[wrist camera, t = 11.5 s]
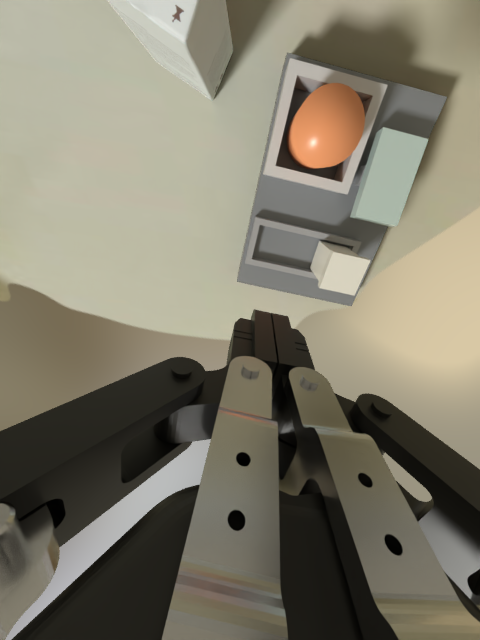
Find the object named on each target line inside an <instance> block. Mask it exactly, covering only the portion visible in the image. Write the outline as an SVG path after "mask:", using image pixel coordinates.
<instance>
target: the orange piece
mask: <svg viewBox="0 0 480 640" xmlns="http://www.w3.org/2000/svg"><path fill="white" fill-rule="evenodd" d="M364 125H365V112H364V107H363V103H362V101H361V99H360V97H359V96H358V94H357V93H356V92H355V91H354V90H353V89H352V88H351V87H349V86H347V85H344V84H341V83H330V84H326V85H323V86H321V87H319V88H317V89H316V90H314V91H313V92H312V93H311V94H310V95H309V96H308V97H307V98H306V100H305V101H304V102H303V104H302V105H301V107H300V108H299V110H298V111H297V112H296V114H295V115H294V117H293V118H292V120H291V122H290V125H289V127H288V131H287V139H286V140H287V149H288V152H289V154H290V156H291V158H292V160H293V161H294V162H295V163H296V164H297V165H299V166H300V167H302V168H305V169H318V168H325V167H331V166H335V165H337V164H339V163H341V162H342V161H344V160H345V159H347V158H348V157H349V156H350V155H351V154H352V152H353V151H354V150H355V149H356V147H357V145H358V144H359V142H360V139H361V137H362V134H363V131H364Z"/></svg>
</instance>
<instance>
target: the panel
mask: <svg viewBox="0 0 480 640" xmlns="http://www.w3.org/2000/svg"><path fill="white" fill-rule="evenodd" d="M330 83H341V84H344V85H347V86H349V87H351V88H352V89H353V90H354V91H355V92H356V93H357V94H358V96H359V97H360V99H361V101H362V103H363V107H364V112H365V125H364V131H363V134H362V137H361V139H360V142H359V144H358V145H357V147H356V149H355V150H354V151H353V152H352V154H351V155H350V156H349V157H348V158H347V159H345V160H344V161H342V162H341V163H339V164H337V165H335V166H331V167H325V168H318V169H305V168H302V167H300V166H299V165H297V164H296V163H295V162H294V161H293V160H292V158H291V156H290V154H289V152H288V149H287V140H286V139H287V131H288V127H289V125H290V122H291V120H292V118H293V117H294V115H295V114H296V112H297V111H298V110H299V108H300V107H301V105H302V104H303V102H304V101H305V100H306V98H307V97H308V96H309V95H310V94H311V93H312V92H313V91H314V90H316V89H317V88H319V87H321V86H323V85H326V84H330ZM446 99H447V97H446V96H442V95H438V94H435V93H431V92H428V91H424V90H420V89H417V88H413V87H410V86H406V85H402V84H399V83H395V82H392V81H388V80H384V79H381V78H377V77H374V76H370V75H366V74H363V73H359V72H356V71H352V70H348V69H345V68H341V67H338V66H334V65H330V64H327V63H323V62H320V61H316V60H312V59H309V58H305V57H302V56H298V55H294V54H291V53H287V55H286V58H285V62H284V66H283V70H282V75H281V79H280V84H279V89H278V93H277V98H276V102H275V107H274V112H273V116H272V121H271V125H270V130H269V134H268V139H267V144H266V148H265V153H264V157H263V162H262V167H261V171H260V176H259V180H258V185H257V189H256V194H255V199H254V203H253V208H252V212H251V217H250V222H249V226H248V231H247V235H246V240H245V245H244V249H243V254H242V258H241V263H240V267H239V272H238V278H237V282H241V283H245V284H250V285H255V286H259V287H264V288H269V289H273V290H278V291H283V292H287V293H292V294H297V295H301V296H306V297H311V298H315V299H320V300H325V301H329V302H334V303H339V304H343V305H348V306H352V304H353V302H354V300H355V297H356V295H357V293H358V291H359V289H360V287H361V284H362V282H363V280H364V278H365V276H366V273H367V271H368V269H369V267H370V265H371V263H372V260H373V258H374V256H375V254H376V252H377V249H378V247H379V245H380V243H381V241H382V238H383V236H384V234H385V232H386V230H387V228H388V226H385V225H381V224H377V223H372V222H368V221H364V220H360V219H356V218H351V217H350V215H351V212H352V209H353V206H354V203H355V199H356V196H357V193H358V190H359V186H360V183H361V180H362V177H363V174H364V170H365V167H366V164H367V161H368V158H369V154H370V151H371V148H372V145H373V141H374V138H375V135H376V133H377V132H378V131H379V130H380V129H382V128H383V127H385V128H389V129H392V130H396V131H400V132H404V133H408V134H411V135H415V136H419V137H423V138H426V139H428V138H429V136H430V134H431V132H432V129H433V127H434V125H435V123H436V121H437V118H438V116H439V114H440V112H441V110H442V108H443V105H444V103H445V101H446ZM319 241H323V242H327V243H332V244H336V245H340V246H345V247H347V248H349V249H350V250H351V251H353V252H354V253H356V254H357V255H358V256H361V257H365V258H368V259H369V260H371V261H370V263H369V265H368V267H367V270H366V272H365V274H364V276H363V278H362V280H361V283H360V285H359V287H358V289H357V291H356V294H355V296H354V295H349V294H345V293H340V292H335V291H331V290H326V289H322V288H319V286H318V282H319V281H318V279H317V278H316V276H315V275H314V273H313V272H312V270H311V269H310V266H311V263H312V260H313V257H314V255H315V252H316V249H317V246H318V243H319Z"/></svg>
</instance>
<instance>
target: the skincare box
mask: <svg viewBox="0 0 480 640" xmlns="http://www.w3.org/2000/svg"><path fill="white" fill-rule="evenodd" d="M107 1H108V2H109V3H110V5H111V6H112V7H113V8H114V10H115V11H116V12H117V13H118V15H119V16H120V17H121V18H122V20H123V21H124V22H125V23H126V25H127V26H128V27H129V28H130V30H131V31H132V32H133V33H134V35H135V36H136V37H137V38H138V40H139V41H140V42H141V43H142V45H143V46H144V47H145V48H146V50H147V51H148V52H149V53H150V55H151V56H152V57H153V58H154V60H155V61H156V62H157V63H159V64H160V65H161V66H163V67H164V68H166V69H167V70H169V71H170V72H171V73H173V74H174V75H176V76H177V77H179V78H180V79H181V80H183V81H184V82H186V83H187V84H189V85H190V86H191V87H193V88H194V89H196V90H197V91H199V92H200V93H202V94H203V95H204V96H206V97H207V98H209V99H210V100H212V101H213V99H214V97H215V94H216V92H217V90H218V87H219V85H220V82H221V80H222V77H223V75H224V72H225V70H226V67H227V65H228V62H229V60H230V58H231V55H232V53H233V45H232V38H231V31H230V25H229V18H228V11H227V5H226V0H107Z"/></svg>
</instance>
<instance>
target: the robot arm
mask: <svg viewBox="0 0 480 640" xmlns="http://www.w3.org/2000/svg"><path fill="white" fill-rule="evenodd" d="M206 439H211V442H210V446H209V450H208V454H207V458H206V463H205V466H204V470H203V474H202V478H201V483H200V485H196V486H192V487H188V488H185V489H183V490H181V491H178V492H176V493H174V494H172V495H170V496H168V497H167V498H165V499H164V500H163V501H161V502H160V503H158V504H157V505H156V506H155V507H153V508H152V509H151V510H150V511H149V512H148V513H147V514H146V515H145V516H143V517H142V518H141V519H140V520H139V521H138V522H137V523H136V524H135V525H134V526H133V527H132V528H131V529H130V530H129V531H128V532H126V533H125V534H124V535H123V536H122V537H121V538H120V539H119V540H118V541H117V542H116V543H115V544H113V545H112V546H111V547H110V548H109V549H108V550H107V551H106V552H105V553H104V554H103V555H102V556H101V557H100V558H98V559H97V560H96V561H95V562H94V563H93V564H92V565H91V566H90V567H89V568H88V569H87V570H86V571H85V572H83V573H82V575H80V576H79V577H78V578H77V579H76V580H75V581H74V582H73V583H72V584H71V585H70V586H68V587H67V588H66V589H65V590H64V591H63V592H62V593H61V594H60V595H59V596H58V597H57V598H56V599H55V600H53V602H51V603H50V604H49V605H48V606H47V607H46V608H45V609H44V610H43V611H42V612H41V613H40V614H38V615H37V617H35V618H34V619H33V620H32V621H31V622H30V623H29V624H28V625H27V626H26V627H25V628H23V630H21V631H20V632H19V633H18V634H17V635H16V636H15V637H14V638H13V639H12V640H480V470H479V469H478V468H477V467H475V466H474V465H473V464H472V463H470V462H469V461H467V460H466V459H465V458H464V457H462V456H461V455H459V454H458V453H457V452H456V451H454V450H453V449H451V448H450V447H449V446H448V445H446V444H445V443H443V442H442V441H441V440H439V439H438V438H437V437H435V436H434V435H433V434H431V433H430V432H429V431H427V430H426V429H424V428H423V427H422V426H421V425H419V424H418V423H417V422H415V421H414V420H413V419H411V418H410V417H408V416H407V415H406V414H405V413H403V412H402V411H401V410H399V409H398V408H397V407H395V406H394V405H393V404H391V403H390V402H388V401H387V400H385V399H383V398H381V397H379V396H376V395H373V394H362V395H360V396H359V397H358V398H357V400H356V402H354V401H351V400H349V399H346V398H344V397H342V396H339V395H337V394H335V393H334V392H333V389H332V387H331V385H330V383H329V382H328V380H327V379H326V378H325V377H324V376H323V375H322V374H320V373H318V372H317V371H315V369H314V365H313V362H312V359H311V356H310V353H309V350H308V347H307V344H306V341H305V337H304V336H303V335H302V334H301V333H300V332H299V331H298V330H297V329H292V328H291V326H290V322H289V318H288V316H283V315H278V314H273V313H268V312H263V311H259V310H254V311H253V314H252V317H251V320H248V319H243V318H240V319H239V320H238V321H237V322H235V325H234V329H233V333H232V338H231V342H230V346H229V351H228V358H227V365H226V367H224V368H222V369H219V370H215V371H205V370H204V368H203V366H202V365H201V364H200V363H198V362H197V361H195V360H193V359H190V358H185V357H175V358H170V359H167V360H165V361H163V362H160V363H158V364H156V365H153V366H151V367H149V368H146V369H144V370H142V371H140V372H137V373H135V374H132V375H130V376H128V377H125V378H123V379H121V380H119V381H116V382H114V383H112V384H109V385H107V386H104V387H102V388H100V389H98V390H95V391H93V392H91V393H88V394H86V395H84V396H81V397H79V398H77V399H74V400H72V401H70V402H68V403H65V404H63V405H60V406H58V407H56V408H54V409H51V410H49V411H46V412H44V413H42V414H39V415H37V416H35V417H32V418H30V419H28V420H25V421H23V422H21V423H18V424H16V425H14V426H12V427H9V428H7V429H5V430H2V431H0V640H5V639H6V637H7V635H8V634H9V632H10V631H11V629H12V628H13V626H14V625H15V623H16V622H17V621H18V619H19V618H20V617H21V616H22V615H23V613H24V612H25V611H26V610H27V609H28V608H29V607H30V606H31V605H32V604H33V603H34V602H35V601H36V600H37V599H38V598H39V597H40V596H41V594H42V593H43V592H44V591H45V589H46V587H47V586H48V584H49V583H50V581H51V579H52V577H53V575H54V573H55V571H56V568H57V565H58V561H59V552H60V550H59V547H60V546H62V545H63V544H65V543H66V542H67V541H68V540H70V539H71V538H72V537H74V536H75V535H76V534H77V533H79V532H80V531H81V530H83V529H84V528H85V527H86V526H88V525H89V524H90V523H92V522H93V521H94V520H95V519H96V518H98V517H99V516H101V515H102V514H103V513H105V512H106V511H107V510H108V509H110V508H111V507H112V506H114V505H115V504H116V503H117V502H119V501H120V500H121V499H123V498H124V497H125V496H127V495H128V494H129V493H130V492H132V491H133V490H134V489H136V488H137V487H138V486H139V485H141V484H142V483H143V482H145V481H146V480H147V479H148V478H150V477H151V476H152V475H154V474H155V473H156V472H157V471H159V470H160V469H161V468H162V467H164V466H165V465H167V464H168V463H169V462H170V461H172V460H173V459H174V458H176V457H177V456H178V455H179V454H181V453H182V452H183V451H185V450H186V449H187V448H188V447H189V446H190V445H191V443H192V441H199V440H206ZM385 452H386V453H387V454H388V455H389V456H390V457H391V458H392V459H393V460H395V461H396V462H397V463H398V464H399V465H400V466H401V467H403V468H404V469H405V470H406V471H407V472H408V473H409V474H410V475H411V476H413V477H414V478H415V479H416V480H417V481H418V482H420V484H422V485H423V486H424V487H425V488H426V489H427V490H428V491H429V493H430V494H431V496H432V499H431V501H429V502H422V501H419V500H417V499H416V498H414V497H413V496H412V495H411V494H410V493H409V492H407V491H406V490H405V489H404V488H403V487H402V486H401V485H400V484H399V483H398V482H397V481H396V480H395V478H394V477H393V475H392V473H391V471H390V469H389V467H388V465H387V464H386V462H385V460H384V458H383V456H382V455H383V454H384V453H385Z"/></svg>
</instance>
